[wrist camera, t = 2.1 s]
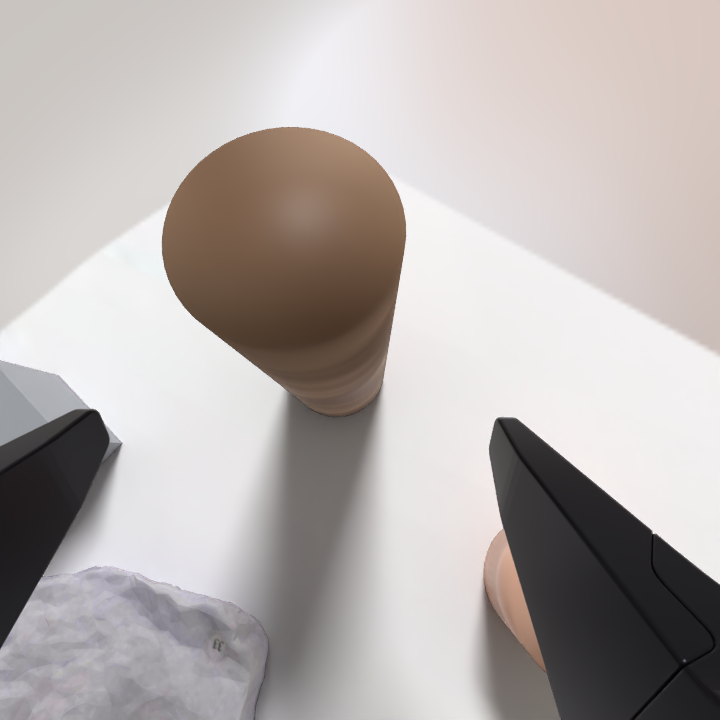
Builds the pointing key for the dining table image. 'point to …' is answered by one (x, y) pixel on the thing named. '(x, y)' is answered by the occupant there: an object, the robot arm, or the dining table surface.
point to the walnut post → (293, 260)
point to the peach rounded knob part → (509, 595)
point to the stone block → (129, 653)
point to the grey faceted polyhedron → (36, 402)
